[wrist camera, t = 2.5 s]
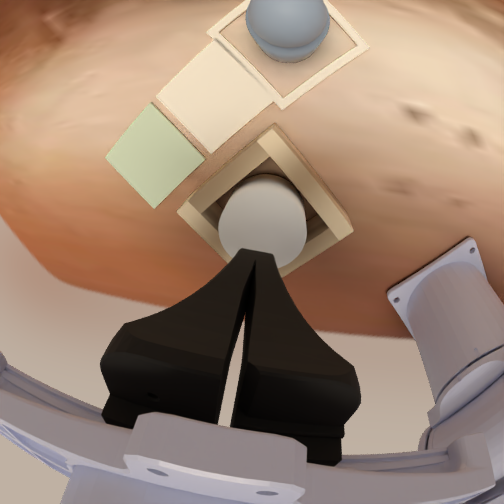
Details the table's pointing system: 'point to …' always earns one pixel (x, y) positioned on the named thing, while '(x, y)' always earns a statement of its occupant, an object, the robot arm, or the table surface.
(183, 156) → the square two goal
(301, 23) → the pawn
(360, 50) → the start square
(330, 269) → the table surface
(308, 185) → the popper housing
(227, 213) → the dome
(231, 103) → the square
